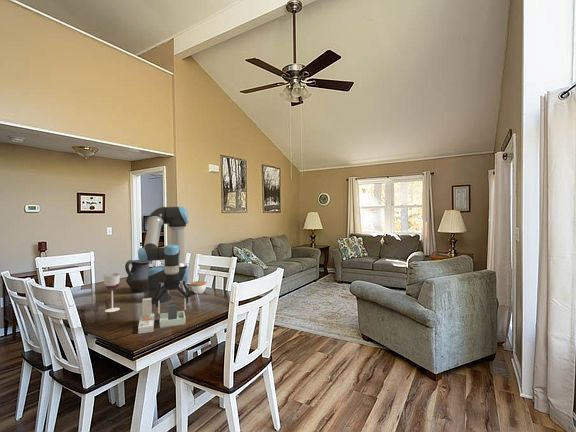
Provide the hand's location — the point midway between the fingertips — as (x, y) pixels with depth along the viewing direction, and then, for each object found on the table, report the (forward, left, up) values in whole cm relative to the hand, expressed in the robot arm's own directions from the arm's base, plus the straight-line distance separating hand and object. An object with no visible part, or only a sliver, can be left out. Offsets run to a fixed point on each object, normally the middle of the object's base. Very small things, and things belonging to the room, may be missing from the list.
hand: (172, 311), depth 168 cm
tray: (0, 0, -6) cm, 6 cm away
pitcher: (-71, +39, -6) cm, 81 cm away
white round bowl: (-26, +53, -6) cm, 59 cm away
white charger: (-14, -5, -3) cm, 15 cm away
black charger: (0, 0, -6) cm, 6 cm away
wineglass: (-50, +1, -6) cm, 51 cm away
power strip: (-11, -7, -6) cm, 15 cm away
